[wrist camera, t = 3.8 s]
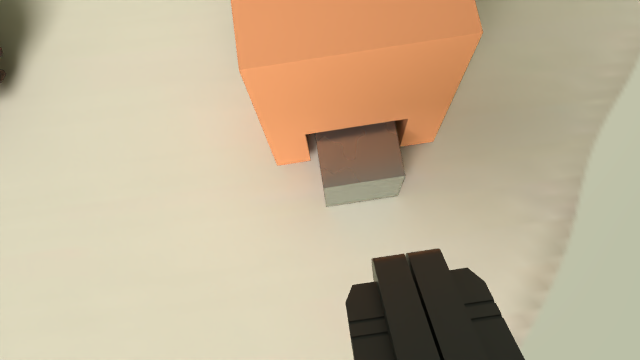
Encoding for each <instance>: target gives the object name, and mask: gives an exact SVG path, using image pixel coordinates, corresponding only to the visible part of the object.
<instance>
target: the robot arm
mask: <svg viewBox="0 0 640 360" xmlns="http://www.w3.org/2000/svg"><path fill="white" fill-rule="evenodd" d="M372 269H373V278H374V282H370V283H363V284H356V285H352V288H351V290H350V293H349V295H348V298H347V300H346V309H347V316H348V323H349V329H350V336H351V343H352V349H353V356H354V360H525V359H524V357H523V355H522V353H521V351H520V349H519V347H518V345H517V344H516V342H515V340H514V338H513V336H512V334H511V332H510V330H509V328H508V326H507V324H506V322H505V320H504V318H502V315H501V312H500V310H499V309H498V307H497V305H496V303H494V299H493V297H492V295H491V293H490V291H489V289H488V287H487V285H486V283H485V282H484V281H483V280H482V279H481V278H479V277H478V276H477V275H476V274H475V273H473V272H472V271H471V270H470V269H468V268H462V269H456V270H449V268H448V266H447V264H446V262H445V259H444V257H443V255H442V252H441V251H440V249H431V250H425V251H418V252H411V253H406V256H405V255H404V254H399V255H392V256H386V257H379V258H372Z"/></svg>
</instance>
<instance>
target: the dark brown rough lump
mask: <svg viewBox="0 0 640 360" xmlns="http://www.w3.org/2000/svg"><path fill="white" fill-rule="evenodd" d="M2 54H3V52H2V48H1V47H0V57H1V56H2ZM5 75H6V73H5V72H4V70H1V69H0V83H1V82H2V80H3V79H4V77H5Z"/></svg>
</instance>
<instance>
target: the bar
mask: <svg viewBox="0 0 640 360" xmlns="http://www.w3.org/2000/svg"><path fill="white" fill-rule="evenodd" d="M315 136H316V143H317V149H318V156H319V162H320V169H321V175H322V182H323V188H324V195H325V201H326V207H329V206H335V205H342V204H348V203H355V202H361V201H368V200H374V199H381V198H387V197H394V196H398V194H399V191H400V188H401V186H402V183H403V180H404V178H405V172H404V167H403V162H402V157H401V152H400V147H399V142H398V137H397V132H396V127H395V122H394V121H389V122H383V123H376V124H370V125H363V126H357V127H350V128H344V129H337V130H331V131H324V132H318V133H315Z"/></svg>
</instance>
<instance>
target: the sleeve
mask: <svg viewBox="0 0 640 360" xmlns="http://www.w3.org/2000/svg"><path fill="white" fill-rule="evenodd" d="M231 6H232V14H233V23H234V32H235V40H236V49H237V57H238V66H239V71H240V74H241V76H242V79H243V81H244V84H245V86H246V89H247V91H248V94H249V96H250V99H251V101H252V104H253V106H254V108H255V111H256V113H257V116H258V118H259V121H260V123H261V126H262V128H263V131H264V133H265V136H266V138H267V141H268V143H269V146H270V148H271V151H272V153H273V156H274V158H275V161H276V163H277V166H278V165H285V164H291V163H298V162H304V161H310V154H309V147H308V140H307V134H311V133H318V132H324V131H331V130H337V129H344V128H350V127H357V126H363V125H370V124H376V123H383V122H389V121H395V123H396V128H397V133H398V138H399V143H400V147H401V146H408V145H414V144H421V143H427V142H433V141H434V139H435V137H436V134H437V132H438V130H439V128H440V126H441V123H442V121H443V119H444V117H445V115H446V112H447V110H448V108H449V106H450V104H451V102H452V99H453V97H454V95H455V93H456V91H457V88H458V86H459V84H460V82H461V80H462V77H463V75H464V73H465V71H466V69H467V66H468V64H469V62H470V60H471V58H472V55H473V53H474V51H475V49H476V47H477V45H478V42H479V40H480V38H481V36H482V34H483V30H482V26H481V22H480V18H479V15H478V11H477V7H476V3H475V0H231Z"/></svg>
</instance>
